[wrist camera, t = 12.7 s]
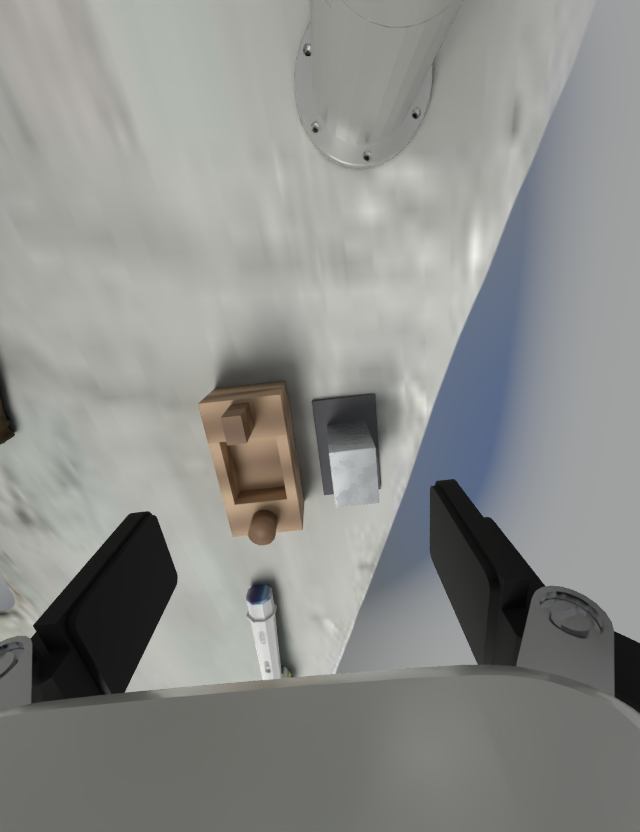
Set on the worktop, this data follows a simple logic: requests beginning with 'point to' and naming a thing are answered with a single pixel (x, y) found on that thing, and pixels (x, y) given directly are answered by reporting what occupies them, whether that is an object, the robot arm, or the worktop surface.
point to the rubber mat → (342, 413)
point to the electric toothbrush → (265, 631)
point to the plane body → (255, 459)
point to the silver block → (352, 464)
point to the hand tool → (4, 426)
